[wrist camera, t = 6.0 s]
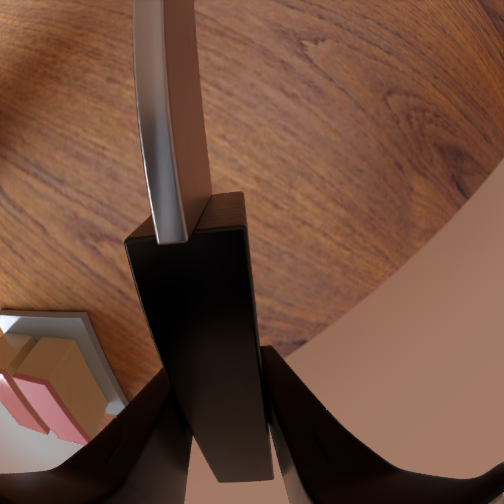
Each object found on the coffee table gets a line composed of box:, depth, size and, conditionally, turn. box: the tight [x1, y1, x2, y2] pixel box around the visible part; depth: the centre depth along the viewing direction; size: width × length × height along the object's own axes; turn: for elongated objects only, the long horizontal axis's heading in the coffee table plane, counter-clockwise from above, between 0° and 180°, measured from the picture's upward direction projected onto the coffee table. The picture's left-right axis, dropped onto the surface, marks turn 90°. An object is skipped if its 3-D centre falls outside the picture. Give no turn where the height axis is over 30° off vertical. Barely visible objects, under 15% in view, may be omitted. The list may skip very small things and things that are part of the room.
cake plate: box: [0, 310, 129, 435], centre depth 18 cm, size 12×12×7 cm
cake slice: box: [12, 337, 109, 445], centre depth 18 cm, size 8×4×6 cm, turn 4°
